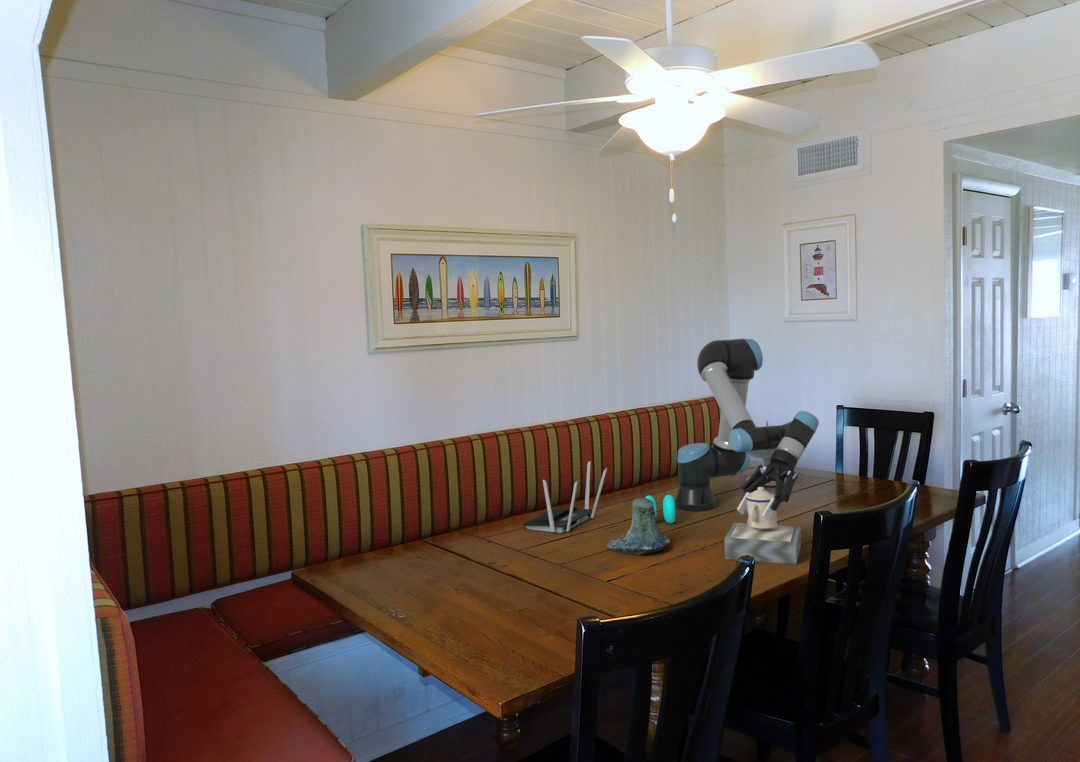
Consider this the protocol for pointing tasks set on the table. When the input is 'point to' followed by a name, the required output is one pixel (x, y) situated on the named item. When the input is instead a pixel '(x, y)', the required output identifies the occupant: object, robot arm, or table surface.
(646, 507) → the tree stump
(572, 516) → the wireless router
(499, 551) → the table surface
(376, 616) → the table surface
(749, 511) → the teacup with lid
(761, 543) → the serving riser
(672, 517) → the donuts
